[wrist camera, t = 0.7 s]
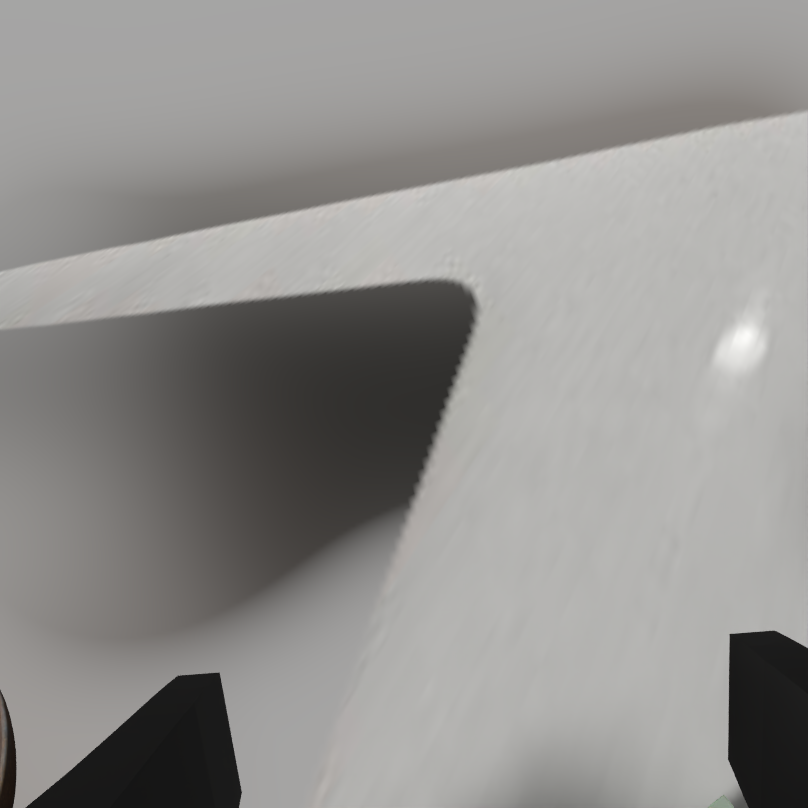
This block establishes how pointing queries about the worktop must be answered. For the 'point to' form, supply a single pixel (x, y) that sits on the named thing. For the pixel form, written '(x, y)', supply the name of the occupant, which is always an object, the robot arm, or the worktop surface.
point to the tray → (721, 803)
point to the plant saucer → (6, 758)
